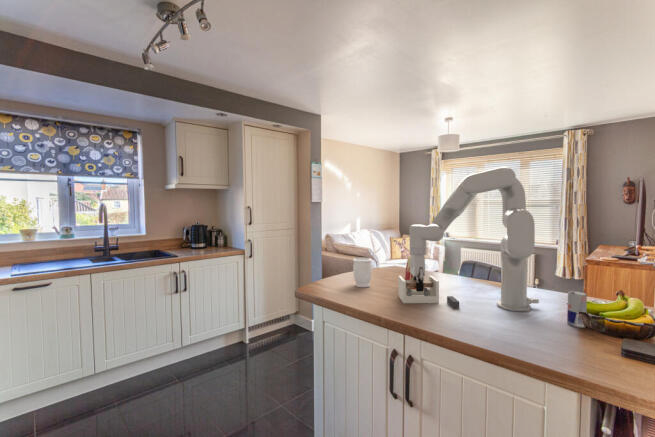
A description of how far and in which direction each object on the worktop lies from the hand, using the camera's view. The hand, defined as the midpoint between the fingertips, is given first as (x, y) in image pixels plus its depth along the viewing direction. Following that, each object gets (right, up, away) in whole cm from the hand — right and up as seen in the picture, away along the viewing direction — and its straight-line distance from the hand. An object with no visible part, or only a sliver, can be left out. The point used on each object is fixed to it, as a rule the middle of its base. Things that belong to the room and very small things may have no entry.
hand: (418, 288), depth 145 cm
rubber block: (+13, -5, -9) cm, 17 cm away
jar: (-23, -4, +26) cm, 35 cm away
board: (0, +2, 0) cm, 2 cm away
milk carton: (+4, -4, +19) cm, 20 cm away
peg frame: (0, -5, 0) cm, 5 cm away
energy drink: (+48, -6, -33) cm, 59 cm away
